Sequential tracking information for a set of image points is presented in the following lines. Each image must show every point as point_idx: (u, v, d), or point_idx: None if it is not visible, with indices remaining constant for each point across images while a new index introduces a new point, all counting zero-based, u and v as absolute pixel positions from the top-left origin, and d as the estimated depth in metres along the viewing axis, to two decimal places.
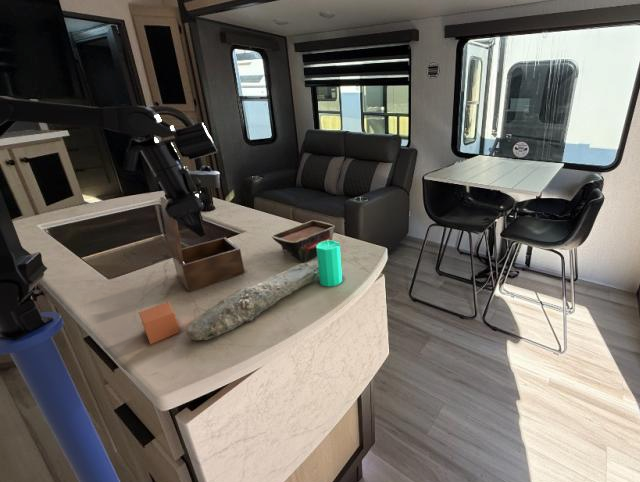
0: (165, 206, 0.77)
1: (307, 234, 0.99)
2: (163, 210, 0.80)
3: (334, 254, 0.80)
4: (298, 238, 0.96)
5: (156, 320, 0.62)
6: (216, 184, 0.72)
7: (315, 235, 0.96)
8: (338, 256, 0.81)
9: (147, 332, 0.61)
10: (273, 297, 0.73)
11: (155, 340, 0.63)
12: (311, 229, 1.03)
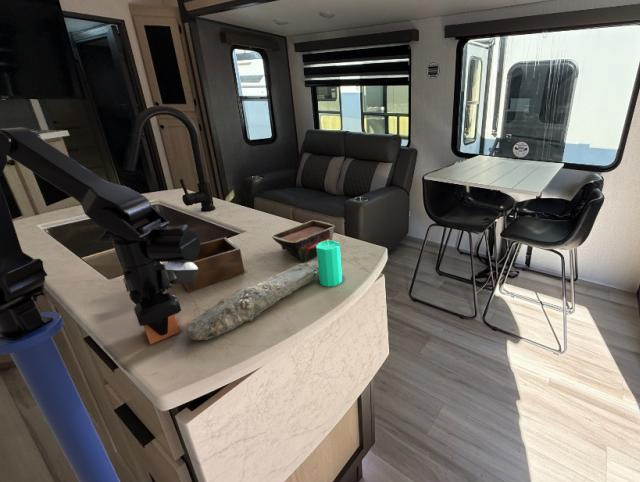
0: None
1: (307, 234, 0.99)
2: None
3: (334, 254, 0.80)
4: (298, 238, 0.96)
5: None
6: (193, 280, 0.65)
7: (315, 235, 0.96)
8: (338, 256, 0.81)
9: (147, 332, 0.61)
10: (273, 296, 0.73)
11: (155, 340, 0.63)
12: (311, 229, 1.03)
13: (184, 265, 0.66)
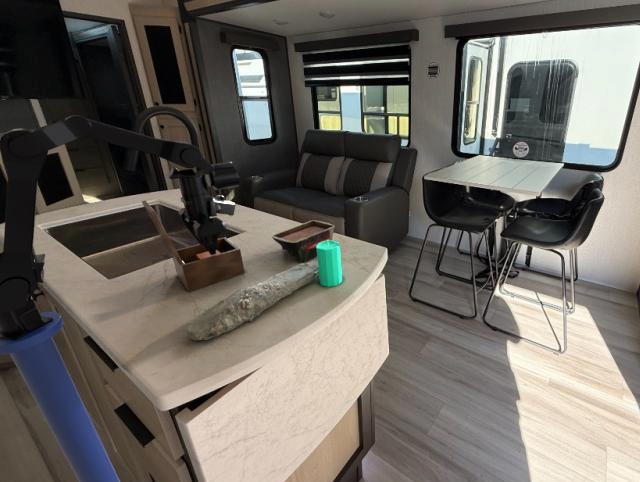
0: (147, 210, 0.75)
1: (307, 234, 0.99)
2: None
3: (334, 254, 0.80)
4: (298, 238, 0.96)
5: None
6: (232, 212, 0.86)
7: (315, 235, 0.96)
8: (338, 256, 0.81)
9: None
10: (273, 296, 0.73)
11: None
12: (311, 229, 1.03)
13: (225, 201, 0.86)
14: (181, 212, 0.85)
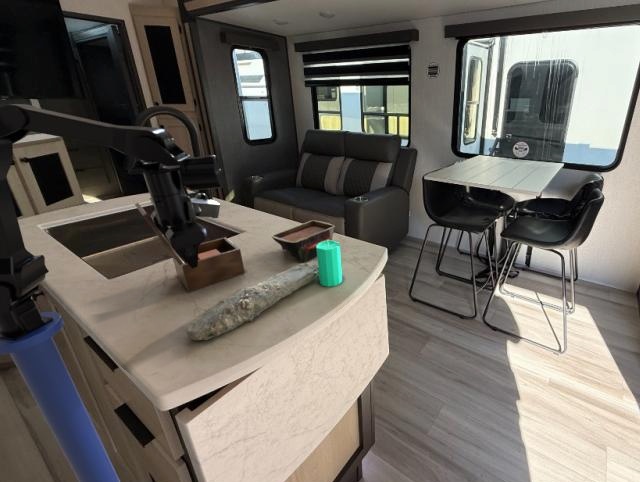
0: None
1: (307, 234, 0.99)
2: None
3: (334, 254, 0.80)
4: (298, 238, 0.96)
5: None
6: (216, 214, 0.70)
7: (315, 235, 0.96)
8: (338, 256, 0.81)
9: None
10: (273, 296, 0.73)
11: None
12: (311, 229, 1.03)
13: (207, 201, 0.70)
14: (154, 215, 0.69)
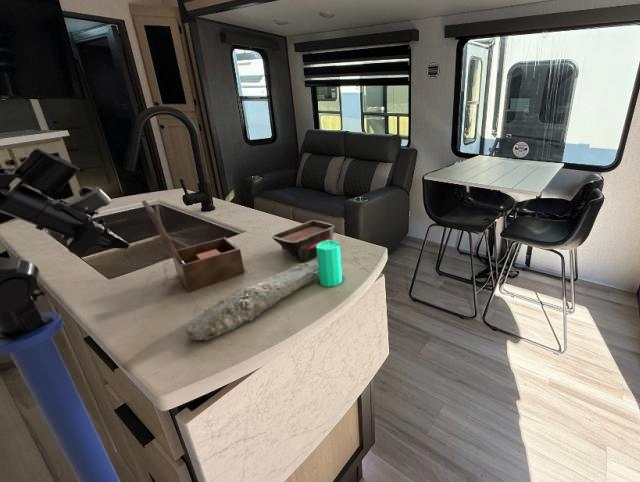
0: (147, 210, 0.75)
1: (307, 234, 0.99)
2: None
3: (334, 254, 0.80)
4: (298, 238, 0.96)
5: None
6: (105, 201, 0.67)
7: (315, 235, 0.96)
8: (338, 256, 0.81)
9: None
10: (273, 296, 0.73)
11: None
12: (311, 229, 1.03)
13: (88, 193, 0.66)
14: None
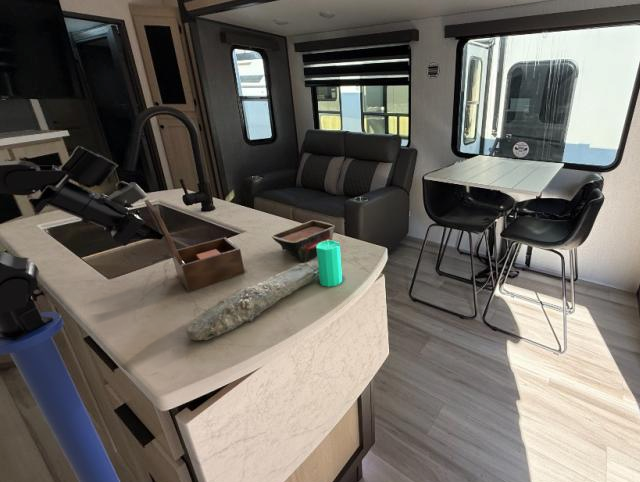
0: (150, 209, 0.75)
1: (307, 234, 0.99)
2: (150, 213, 0.78)
3: (334, 254, 0.80)
4: (298, 238, 0.96)
5: None
6: (142, 194, 0.71)
7: (315, 235, 0.96)
8: (338, 256, 0.81)
9: None
10: (273, 296, 0.73)
11: None
12: (311, 229, 1.03)
13: (125, 188, 0.71)
14: None
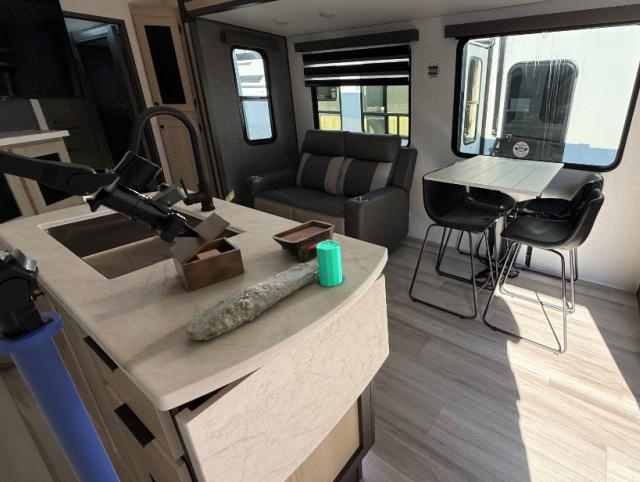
0: (216, 219, 0.86)
1: (307, 234, 0.99)
2: (207, 220, 0.87)
3: (334, 254, 0.80)
4: (298, 238, 0.96)
5: None
6: (182, 195, 0.76)
7: (315, 235, 0.96)
8: (338, 256, 0.81)
9: None
10: (273, 296, 0.73)
11: None
12: (311, 229, 1.03)
13: (167, 189, 0.76)
14: None
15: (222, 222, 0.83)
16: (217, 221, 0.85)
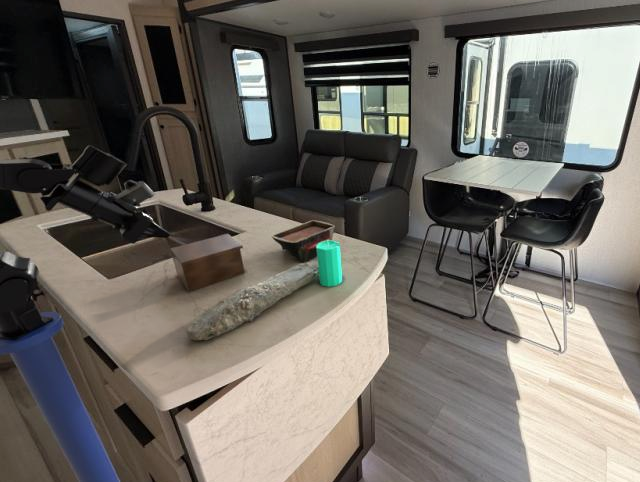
0: (229, 240, 0.90)
1: (307, 234, 0.99)
2: (218, 238, 0.91)
3: (334, 254, 0.80)
4: (298, 238, 0.96)
5: None
6: (150, 193, 0.72)
7: (315, 235, 0.96)
8: (338, 256, 0.81)
9: None
10: (273, 296, 0.73)
11: None
12: (311, 229, 1.03)
13: (134, 187, 0.72)
14: None
15: (235, 243, 0.87)
16: (230, 241, 0.88)
